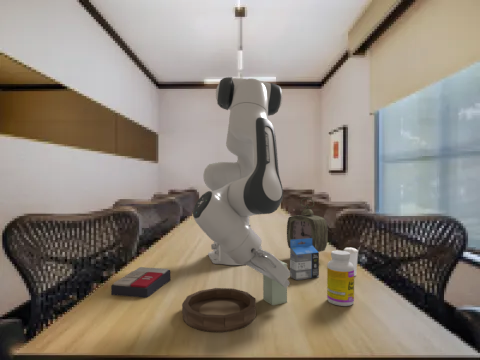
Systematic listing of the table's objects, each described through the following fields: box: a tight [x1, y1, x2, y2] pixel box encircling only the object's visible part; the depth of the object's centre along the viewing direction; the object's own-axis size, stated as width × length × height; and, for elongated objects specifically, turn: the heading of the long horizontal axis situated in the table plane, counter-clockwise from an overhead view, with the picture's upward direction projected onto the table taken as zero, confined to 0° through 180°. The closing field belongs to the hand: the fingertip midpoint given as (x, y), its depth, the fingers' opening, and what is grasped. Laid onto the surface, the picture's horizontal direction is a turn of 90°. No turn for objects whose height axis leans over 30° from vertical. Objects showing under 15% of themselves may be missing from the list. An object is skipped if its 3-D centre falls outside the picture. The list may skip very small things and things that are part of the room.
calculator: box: [110, 266, 171, 299], centre depth 87 cm, size 11×4×15 cm
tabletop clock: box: [286, 197, 329, 253], centre depth 118 cm, size 14×9×25 cm, turn 38°
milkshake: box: [343, 245, 361, 277], centre depth 98 cm, size 4×5×10 cm
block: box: [262, 259, 288, 306], centre depth 77 cm, size 4×4×10 cm
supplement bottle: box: [326, 249, 355, 307], centre depth 76 cm, size 7×7×13 cm
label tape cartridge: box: [289, 238, 320, 281], centre depth 96 cm, size 9×4×12 cm, turn 112°
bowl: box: [181, 287, 257, 333], centre depth 69 cm, size 17×17×3 cm
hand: (276, 279), depth 77 cm, fingers open, 7 cm apart
